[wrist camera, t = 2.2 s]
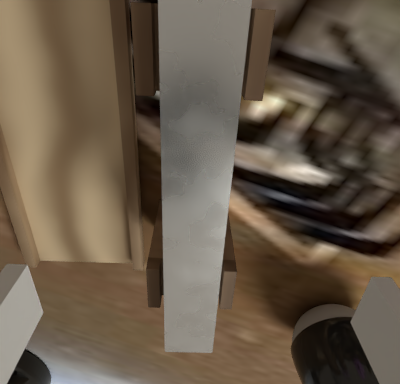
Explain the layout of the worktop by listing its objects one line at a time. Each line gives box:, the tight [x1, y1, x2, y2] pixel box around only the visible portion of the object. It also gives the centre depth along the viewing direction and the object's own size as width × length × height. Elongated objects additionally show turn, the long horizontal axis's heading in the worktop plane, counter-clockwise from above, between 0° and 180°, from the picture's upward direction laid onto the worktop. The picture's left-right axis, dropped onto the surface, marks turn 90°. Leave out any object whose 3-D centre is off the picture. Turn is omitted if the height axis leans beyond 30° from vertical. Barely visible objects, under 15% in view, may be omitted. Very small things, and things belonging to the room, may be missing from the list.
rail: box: [158, 0, 252, 353], centre depth 18 cm, size 4×24×4 cm, turn 177°
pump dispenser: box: [291, 304, 379, 384], centre depth 32 cm, size 10×10×15 cm
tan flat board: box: [0, 0, 145, 270], centre depth 26 cm, size 12×28×1 cm, turn 177°
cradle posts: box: [131, 2, 276, 309], centre depth 23 cm, size 6×20×9 cm, turn 177°
